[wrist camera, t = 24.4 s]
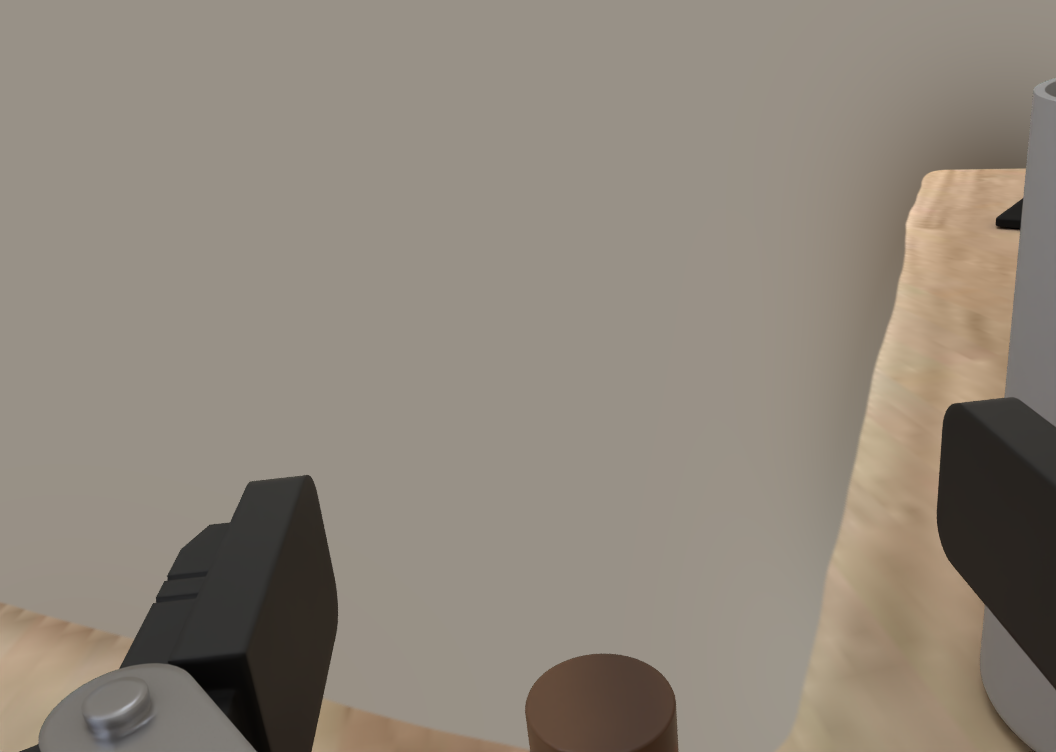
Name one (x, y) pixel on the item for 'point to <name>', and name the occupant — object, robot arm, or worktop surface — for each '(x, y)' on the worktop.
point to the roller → (602, 707)
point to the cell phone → (1011, 216)
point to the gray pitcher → (1046, 387)
